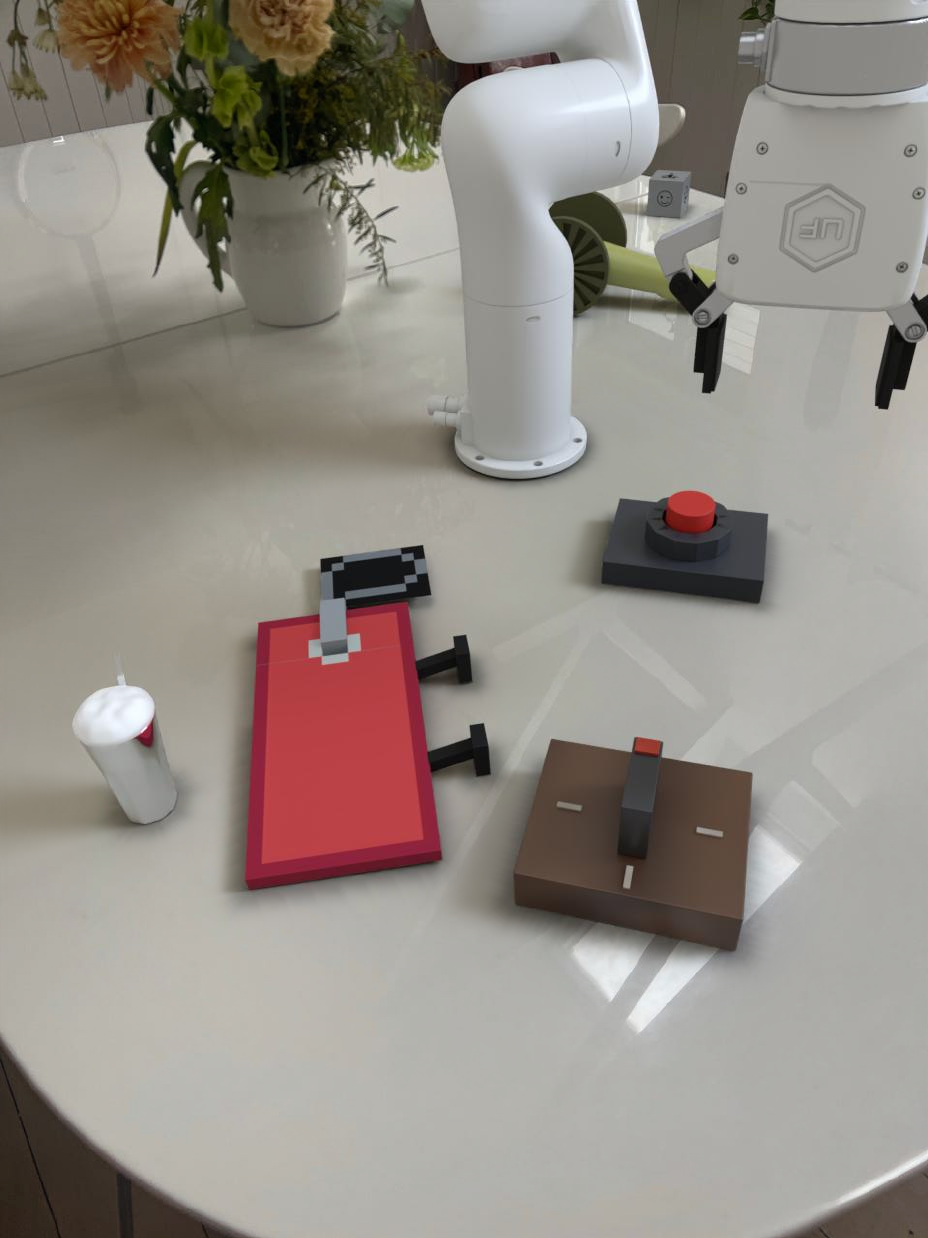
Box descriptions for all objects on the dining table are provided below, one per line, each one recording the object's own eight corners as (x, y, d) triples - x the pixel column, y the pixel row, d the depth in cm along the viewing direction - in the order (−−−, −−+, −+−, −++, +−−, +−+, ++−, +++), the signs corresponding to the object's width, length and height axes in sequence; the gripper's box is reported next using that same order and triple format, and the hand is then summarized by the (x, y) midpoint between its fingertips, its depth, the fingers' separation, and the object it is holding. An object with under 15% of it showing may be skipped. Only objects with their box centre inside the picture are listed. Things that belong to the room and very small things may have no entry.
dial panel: (514, 904, 53) (513, 871, 51) (550, 770, 60) (550, 736, 58) (735, 952, 50) (744, 918, 48) (745, 804, 57) (753, 770, 55)
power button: (663, 532, 73) (664, 513, 71) (668, 506, 75) (670, 487, 74) (711, 537, 72) (713, 518, 71) (714, 511, 74) (717, 492, 73)
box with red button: (646, 859, 51) (652, 809, 48) (617, 853, 51) (621, 803, 48) (658, 788, 54) (664, 738, 52) (630, 783, 55) (634, 733, 52)
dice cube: (646, 215, 140) (649, 179, 137) (655, 204, 143) (657, 169, 140) (680, 217, 138) (683, 181, 135) (687, 207, 142) (691, 171, 138)
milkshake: (196, 764, 62) (155, 651, 55) (180, 831, 58) (134, 717, 51) (127, 768, 62) (78, 656, 55) (106, 835, 58) (51, 722, 51)
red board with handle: (446, 550, 78) (264, 575, 77) (443, 523, 76) (257, 548, 75) (506, 854, 55) (250, 894, 54) (504, 825, 53) (239, 866, 53)
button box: (601, 583, 74) (603, 542, 71) (618, 519, 81) (620, 479, 78) (759, 603, 71) (767, 561, 69) (764, 535, 78) (772, 494, 75)
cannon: (728, 291, 117) (741, 194, 109) (716, 330, 108) (728, 228, 101) (533, 277, 124) (532, 185, 116) (507, 313, 115) (504, 216, 108)
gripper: (653, 74, 45) (635, 405, 56) (1066, 71, 40) (957, 436, 50) (679, 46, 50) (658, 353, 61) (1045, 40, 45) (951, 376, 56)
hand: (794, 391), depth 56 cm, fingers open, 9 cm apart
